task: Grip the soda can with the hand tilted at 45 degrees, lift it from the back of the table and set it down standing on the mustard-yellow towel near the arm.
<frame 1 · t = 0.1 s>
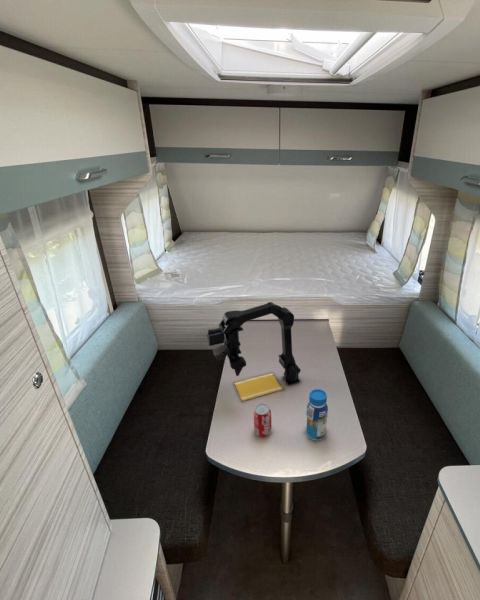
hand: (234, 369, 147), 15 cm above the table, tool pointing down, fingers open, 9 cm apart
beverage bottle: (316, 433, 133), on the table
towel: (258, 386, 159), on the table
soda can: (263, 432, 133), on the table
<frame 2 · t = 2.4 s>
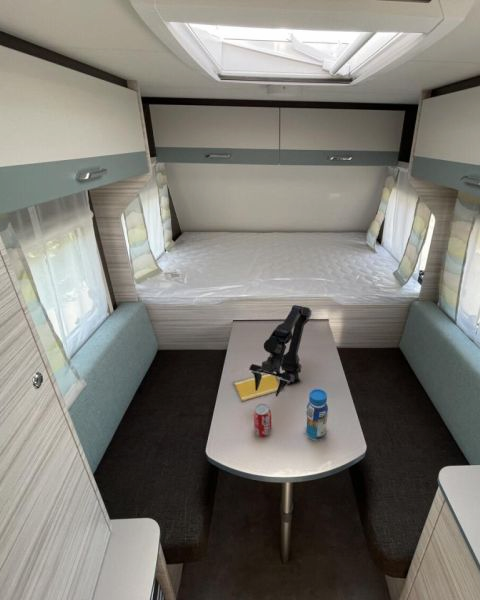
hand: (266, 393, 134), 13 cm above the table, tool tilted 40°, fingers open, 9 cm apart
nothing on the table moved.
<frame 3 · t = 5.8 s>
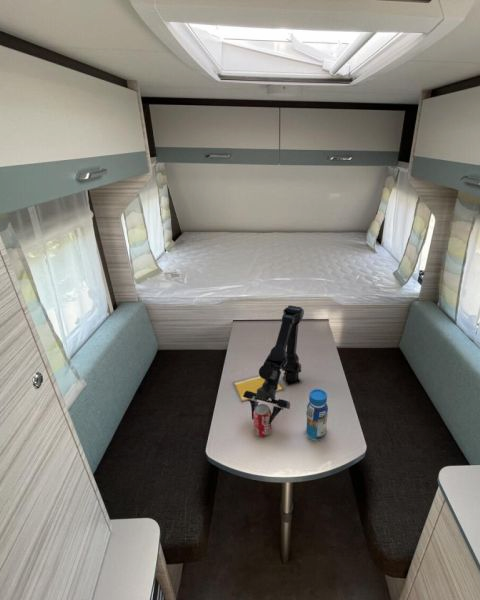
hand: (261, 421, 129), 7 cm above the table, tool tilted 45°, fingers closed on soda can, 7 cm apart
soda can: (263, 432, 133), on the table, touching gripper
everything else where it was.
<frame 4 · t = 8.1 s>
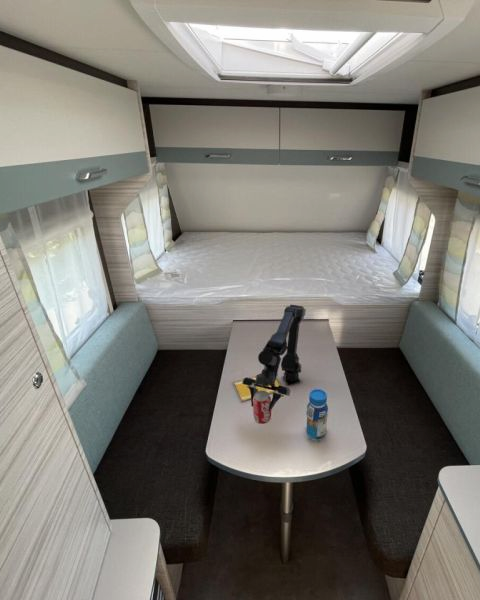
hand: (260, 408, 127), 13 cm above the table, tool tilted 45°, fingers closed on soda can, 7 cm apart
soda can: (262, 419, 131), point 6 cm above the table, touching gripper
everything else where it was.
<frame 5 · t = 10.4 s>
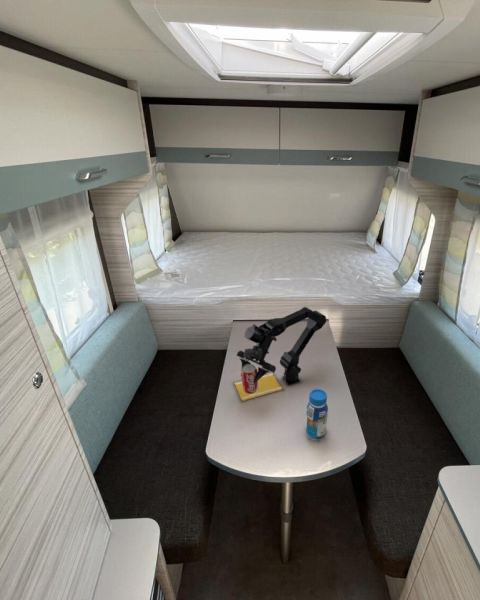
hand: (247, 379, 141), 14 cm above the table, tool tilted 45°, fingers closed on soda can, 7 cm apart
soda can: (251, 390, 145), point 8 cm above the table, touching gripper
everything else where it was.
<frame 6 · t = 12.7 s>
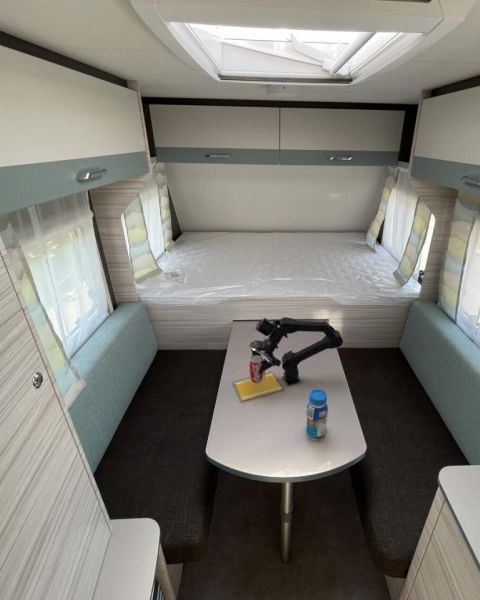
hand: (254, 369, 150), 13 cm above the table, tool tilted 45°, fingers closed on soda can, 7 cm apart
soda can: (257, 380, 154), point 6 cm above the table, touching gripper
everything else where it was.
when the fingers open (7 cm above the table, at t = 14.9 s): soda can stays where it is, resting on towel.
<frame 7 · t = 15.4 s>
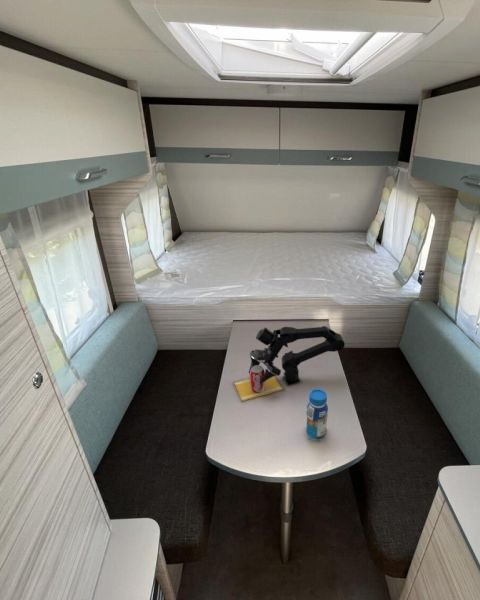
hand: (254, 378, 152), 8 cm above the table, tool tilted 45°, fingers open, 9 cm apart
soda can: (258, 389, 156), resting on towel
everything else where it was.
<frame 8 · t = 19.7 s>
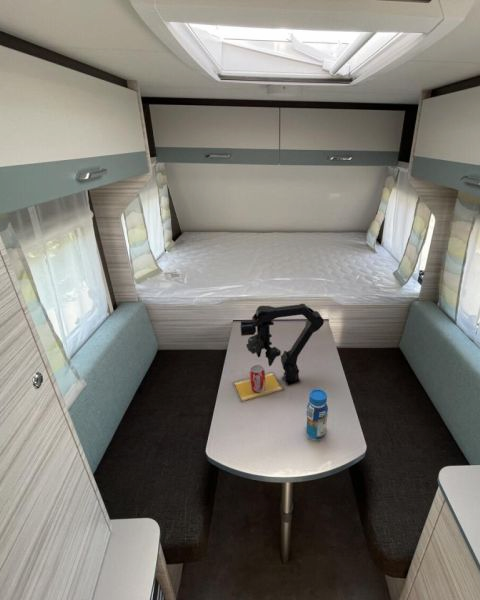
hand: (264, 361, 156), 13 cm above the table, tool pointing down, fingers open, 9 cm apart
nothing on the table moved.
at the end: soda can inside the target area on the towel (2.7 cm from its centre), point 0.3 cm above the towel's base; soda can tilted 1°; the gripper is holding nothing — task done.
